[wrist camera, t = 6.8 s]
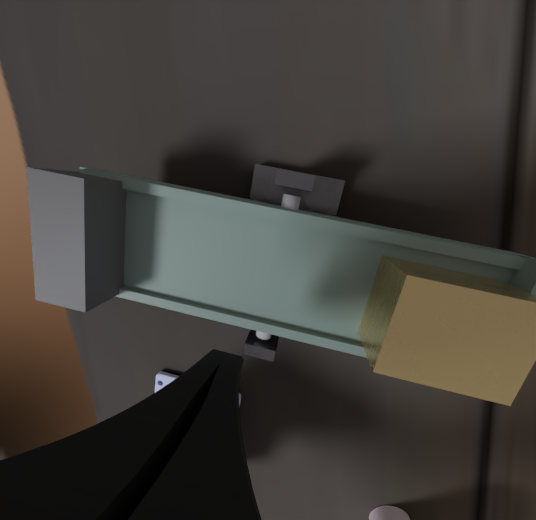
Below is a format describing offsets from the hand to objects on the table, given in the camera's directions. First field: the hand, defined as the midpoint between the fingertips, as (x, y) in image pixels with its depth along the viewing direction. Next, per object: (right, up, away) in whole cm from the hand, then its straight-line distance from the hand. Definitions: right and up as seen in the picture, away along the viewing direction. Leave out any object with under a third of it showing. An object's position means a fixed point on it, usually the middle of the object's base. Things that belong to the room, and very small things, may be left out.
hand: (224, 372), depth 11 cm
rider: (+10, +2, +3) cm, 11 cm away
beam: (+2, +4, +5) cm, 7 cm away
